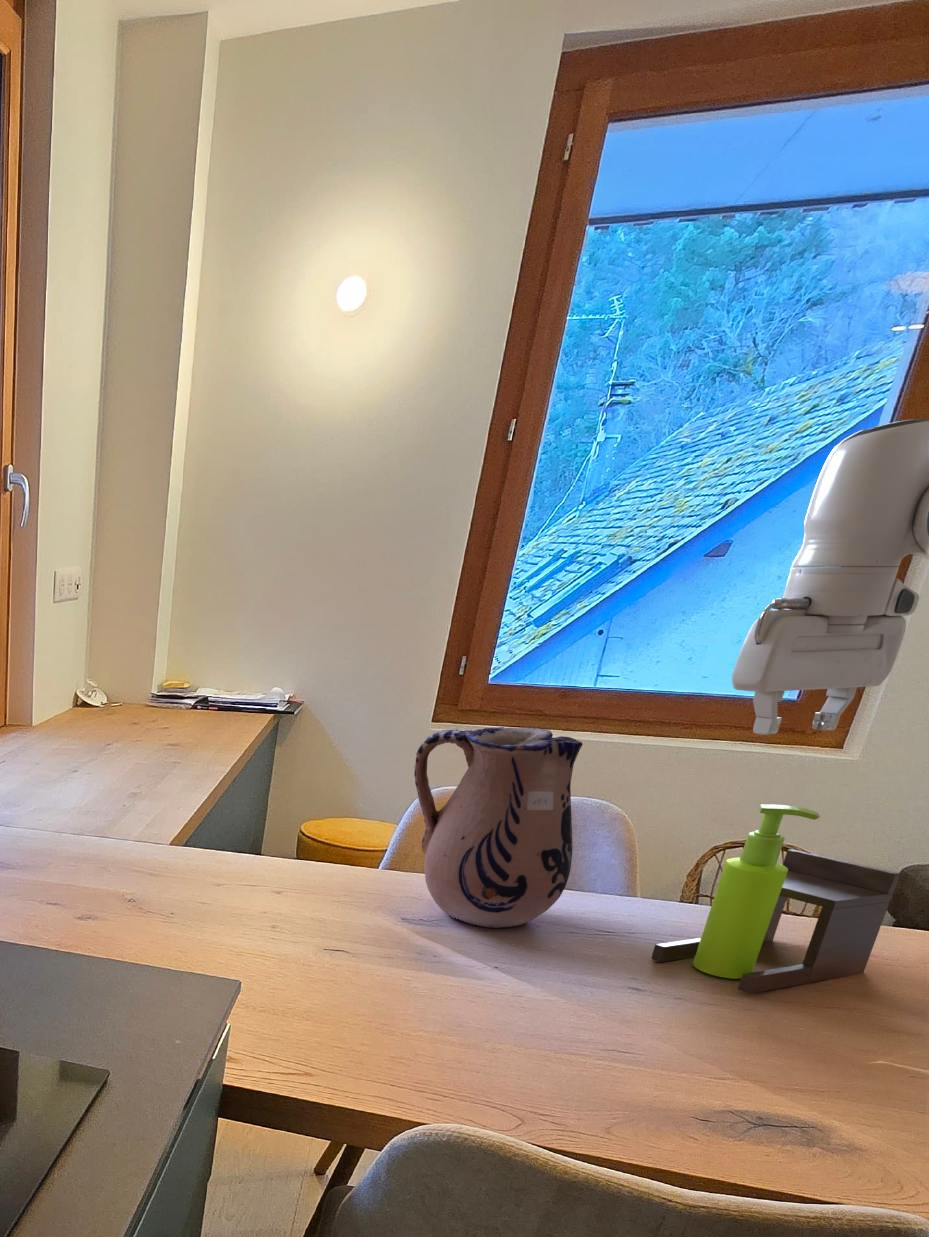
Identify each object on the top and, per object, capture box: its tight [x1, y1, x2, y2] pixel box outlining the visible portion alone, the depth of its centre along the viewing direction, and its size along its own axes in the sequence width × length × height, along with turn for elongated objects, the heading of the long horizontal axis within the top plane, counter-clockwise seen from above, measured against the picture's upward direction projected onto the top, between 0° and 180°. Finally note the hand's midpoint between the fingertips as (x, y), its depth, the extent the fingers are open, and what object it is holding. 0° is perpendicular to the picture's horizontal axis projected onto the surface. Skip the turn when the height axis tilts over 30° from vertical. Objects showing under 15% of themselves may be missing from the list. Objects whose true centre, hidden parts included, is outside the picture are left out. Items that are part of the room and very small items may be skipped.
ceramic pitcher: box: [414, 726, 583, 929], centre depth 138 cm, size 18×21×25 cm
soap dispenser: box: [692, 803, 821, 980], centre depth 120 cm, size 6×7×20 cm
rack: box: [650, 848, 901, 994], centre depth 124 cm, size 12×20×12 cm, turn 110°
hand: (794, 731), depth 114 cm, fingers open, 8 cm apart
